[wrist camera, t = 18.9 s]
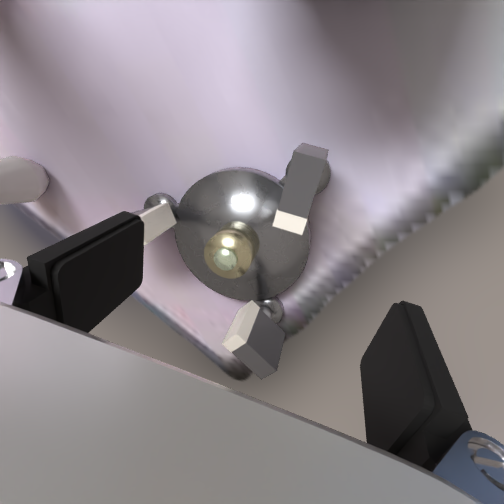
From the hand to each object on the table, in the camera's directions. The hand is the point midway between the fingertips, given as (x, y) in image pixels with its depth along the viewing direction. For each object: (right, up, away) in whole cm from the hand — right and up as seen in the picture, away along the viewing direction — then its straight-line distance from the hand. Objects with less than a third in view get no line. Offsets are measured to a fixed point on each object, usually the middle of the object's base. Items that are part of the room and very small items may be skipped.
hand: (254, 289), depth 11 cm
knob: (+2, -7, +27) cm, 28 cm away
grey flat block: (-11, +6, +25) cm, 28 cm away
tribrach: (0, +1, +25) cm, 25 cm away
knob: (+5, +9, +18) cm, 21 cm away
